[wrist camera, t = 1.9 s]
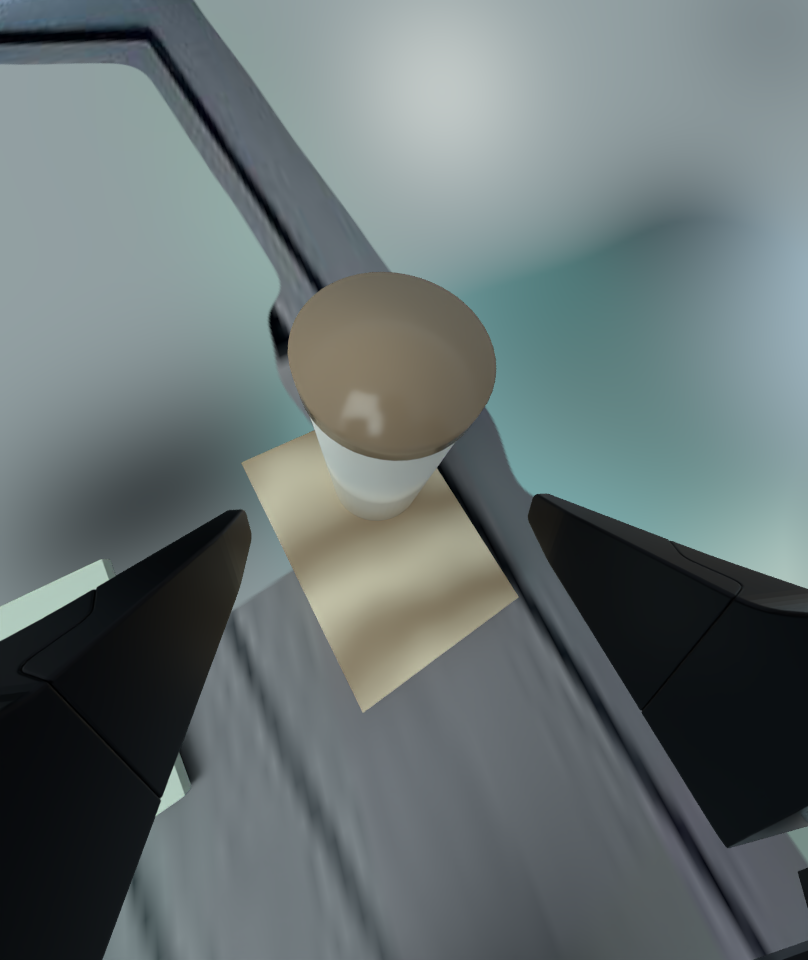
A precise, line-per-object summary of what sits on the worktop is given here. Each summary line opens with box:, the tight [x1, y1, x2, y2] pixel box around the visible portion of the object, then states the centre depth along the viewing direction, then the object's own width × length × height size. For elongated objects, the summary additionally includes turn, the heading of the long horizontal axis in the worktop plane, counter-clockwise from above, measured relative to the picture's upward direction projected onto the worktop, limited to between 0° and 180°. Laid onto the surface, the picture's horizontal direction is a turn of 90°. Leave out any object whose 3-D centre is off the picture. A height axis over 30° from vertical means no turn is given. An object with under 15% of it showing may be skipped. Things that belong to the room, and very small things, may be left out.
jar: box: [288, 272, 496, 521], centre depth 14 cm, size 6×6×12 cm
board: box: [242, 430, 518, 713], centre depth 19 cm, size 16×11×2 cm
